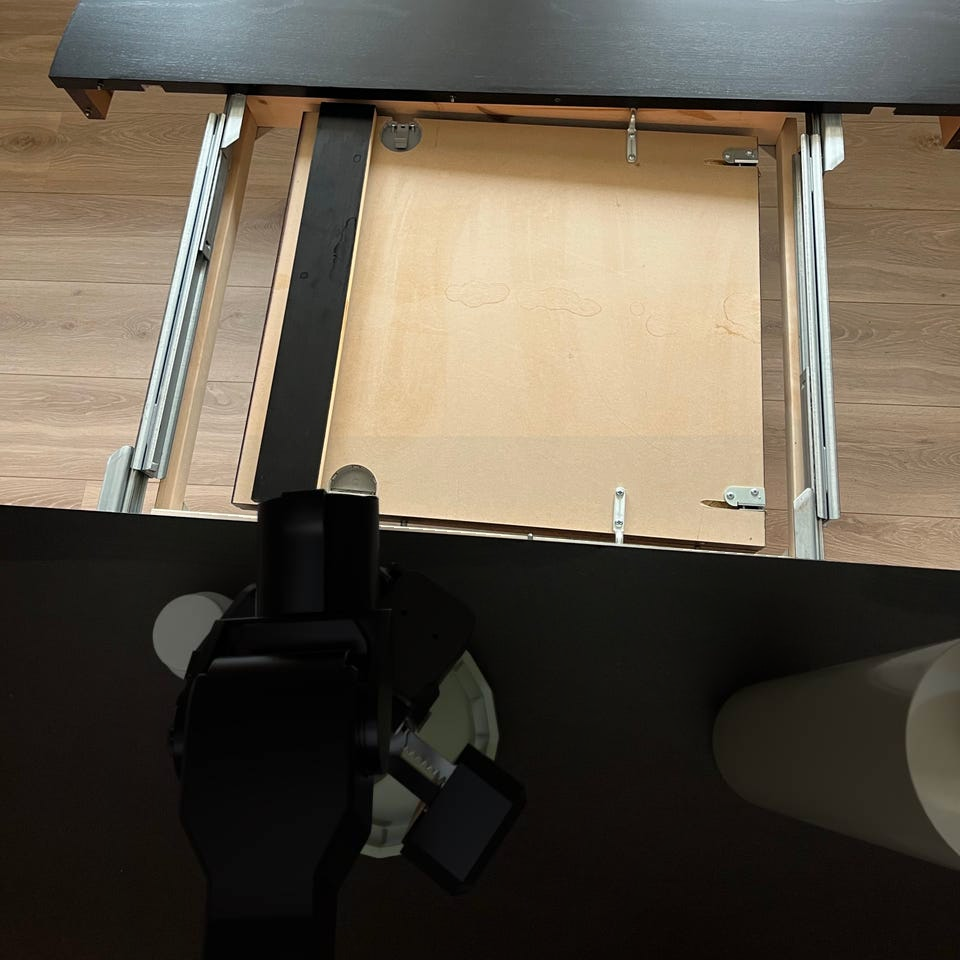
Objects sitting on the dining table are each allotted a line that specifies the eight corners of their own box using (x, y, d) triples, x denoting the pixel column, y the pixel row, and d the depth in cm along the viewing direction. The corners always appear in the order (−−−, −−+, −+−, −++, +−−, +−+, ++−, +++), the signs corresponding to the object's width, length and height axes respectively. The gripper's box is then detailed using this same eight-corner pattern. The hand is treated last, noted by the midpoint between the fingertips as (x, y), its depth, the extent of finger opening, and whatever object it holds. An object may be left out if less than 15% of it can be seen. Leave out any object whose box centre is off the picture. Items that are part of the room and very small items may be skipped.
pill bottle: (183, 682, 75) (133, 675, 65) (199, 599, 77) (153, 580, 67) (262, 691, 74) (223, 685, 65) (276, 607, 76) (241, 590, 67)
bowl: (472, 872, 69) (468, 882, 65) (267, 817, 71) (248, 823, 66) (518, 651, 74) (517, 646, 70) (325, 605, 76) (311, 597, 71)
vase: (825, 823, 69) (1295, 968, 27) (703, 793, 70) (968, 886, 28) (838, 697, 72) (1284, 644, 29) (721, 670, 73) (986, 580, 30)
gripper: (594, 706, 49) (580, 711, 64) (287, 477, 54) (339, 530, 68) (452, 927, 46) (471, 879, 61) (139, 664, 51) (227, 678, 65)
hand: (376, 730), depth 64 cm, fingers open, 9 cm apart
